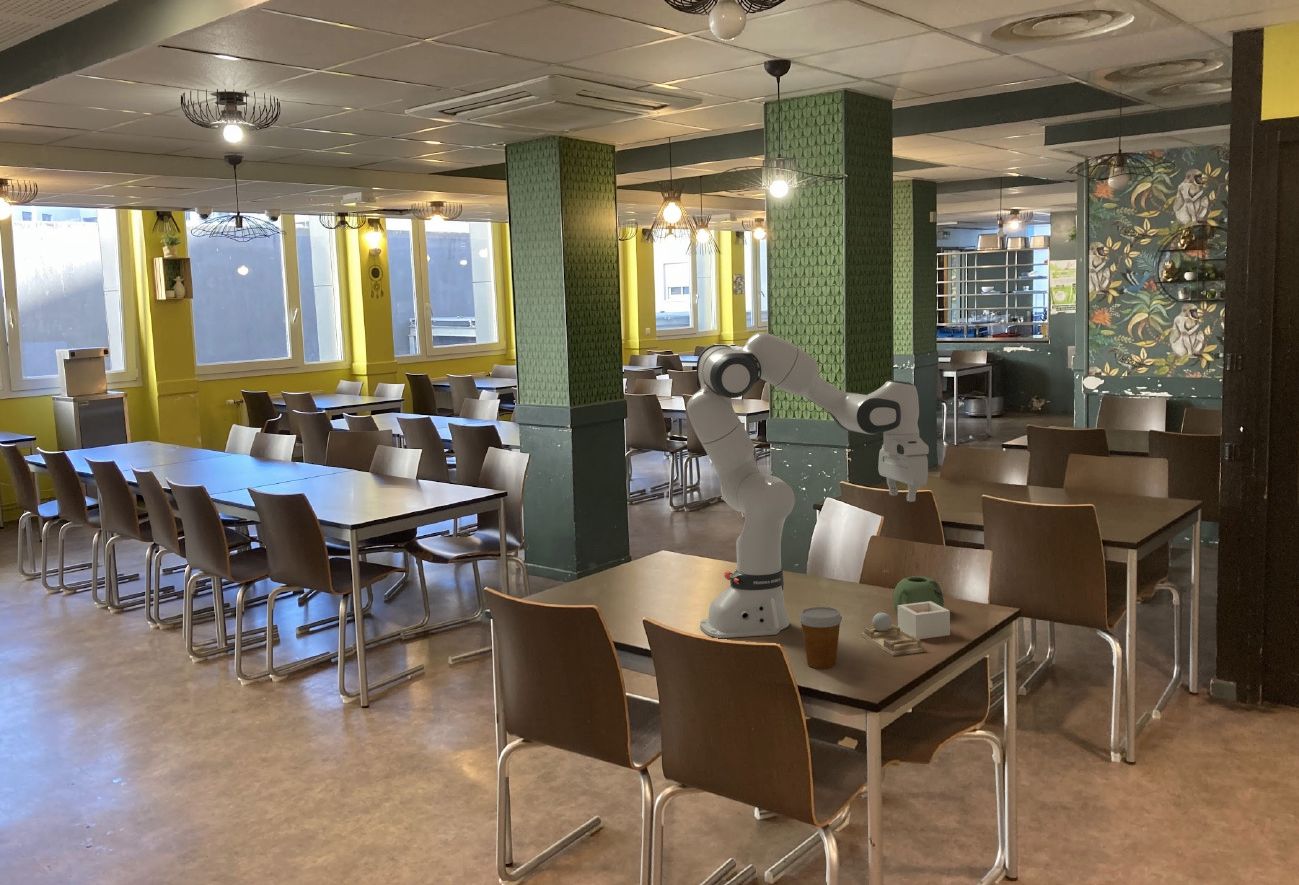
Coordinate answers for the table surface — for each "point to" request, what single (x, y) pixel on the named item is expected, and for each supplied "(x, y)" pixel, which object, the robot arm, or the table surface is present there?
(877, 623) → the grey ball
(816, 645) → the disposable coffee cup
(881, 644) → the rack
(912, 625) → the white open box
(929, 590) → the green rounded piece
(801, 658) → the table surface
